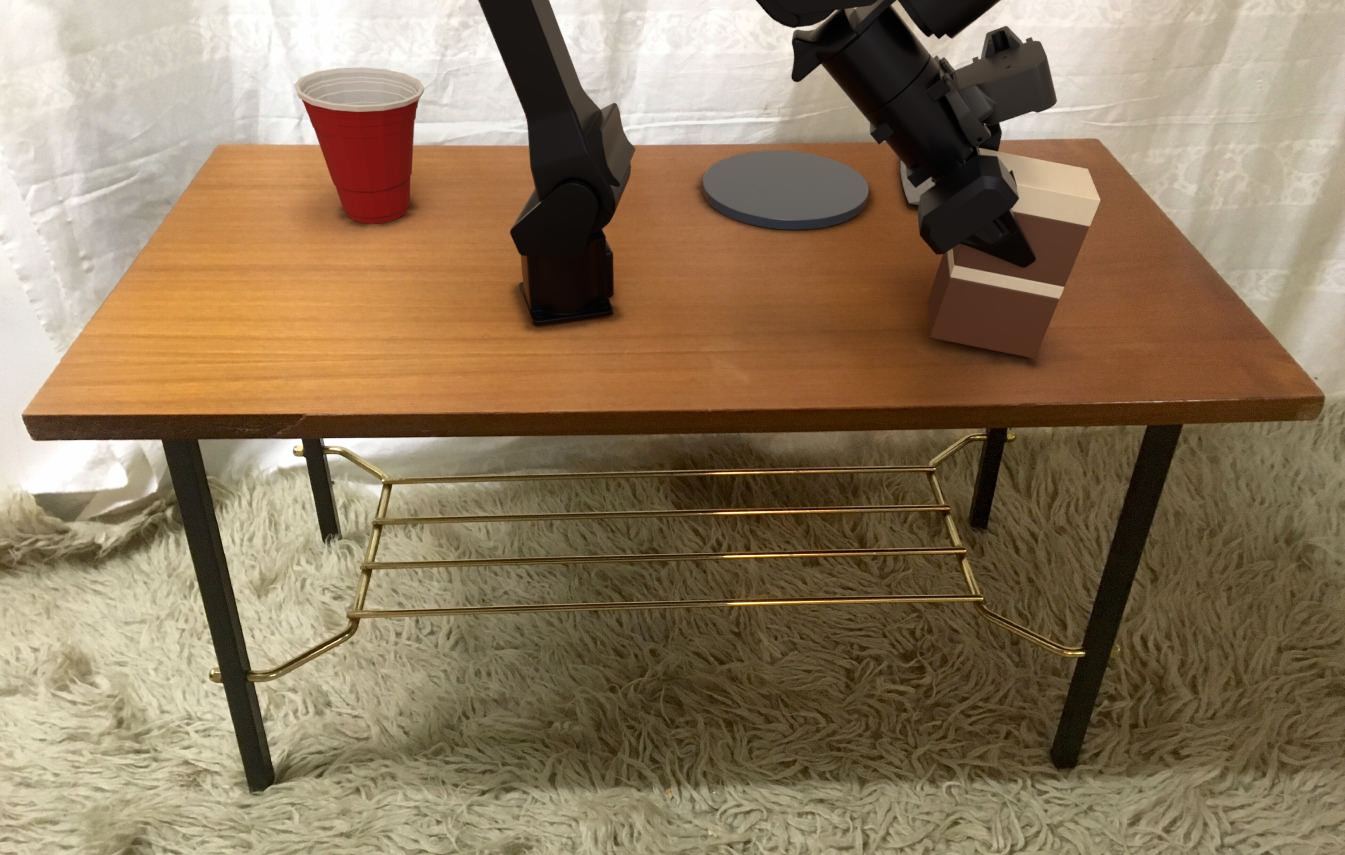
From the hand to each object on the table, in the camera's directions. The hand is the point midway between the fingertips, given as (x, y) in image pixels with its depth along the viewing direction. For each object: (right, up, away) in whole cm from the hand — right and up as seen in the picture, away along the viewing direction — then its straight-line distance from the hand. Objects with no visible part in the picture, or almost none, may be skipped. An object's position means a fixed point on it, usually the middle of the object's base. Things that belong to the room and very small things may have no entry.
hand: (1025, 244), depth 77 cm
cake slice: (-2, -6, +5) cm, 8 cm away
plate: (-15, +10, +26) cm, 31 cm away
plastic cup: (-53, +7, +21) cm, 57 cm away
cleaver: (+2, +8, +24) cm, 26 cm away
